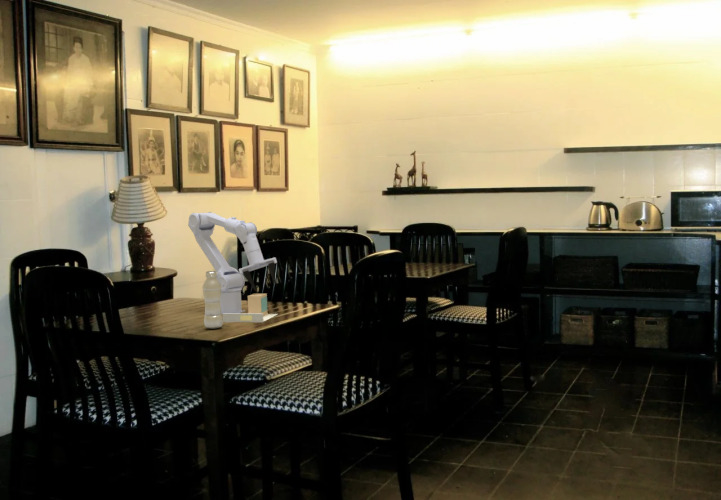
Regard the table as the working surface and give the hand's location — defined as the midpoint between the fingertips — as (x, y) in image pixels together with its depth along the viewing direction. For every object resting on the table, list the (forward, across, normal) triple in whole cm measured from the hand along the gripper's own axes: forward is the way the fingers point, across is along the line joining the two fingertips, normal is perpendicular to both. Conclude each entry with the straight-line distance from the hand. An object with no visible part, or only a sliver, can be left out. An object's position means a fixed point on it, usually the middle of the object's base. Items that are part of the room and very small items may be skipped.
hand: (264, 286), depth 276 cm
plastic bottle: (+11, -22, -16) cm, 29 cm away
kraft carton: (+10, -6, +3) cm, 11 cm away
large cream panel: (+10, -8, -1) cm, 13 cm away
